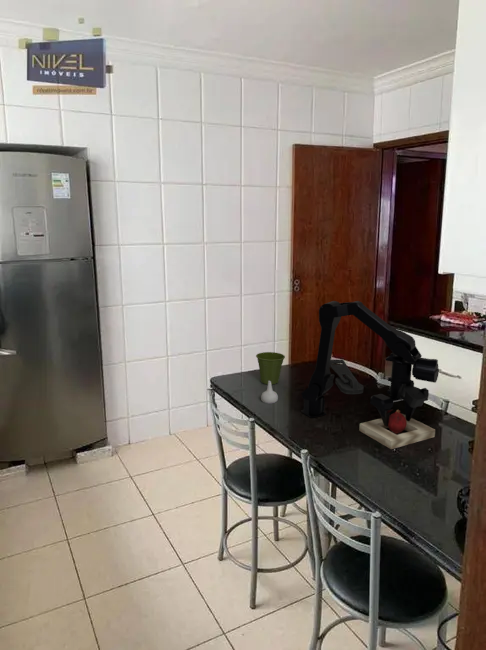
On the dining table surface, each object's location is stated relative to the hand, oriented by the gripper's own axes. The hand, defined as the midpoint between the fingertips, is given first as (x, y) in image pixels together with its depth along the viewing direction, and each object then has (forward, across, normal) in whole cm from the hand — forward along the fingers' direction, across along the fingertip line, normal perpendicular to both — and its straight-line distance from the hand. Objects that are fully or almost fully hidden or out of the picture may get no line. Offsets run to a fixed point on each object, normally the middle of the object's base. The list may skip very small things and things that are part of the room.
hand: (397, 423), depth 151 cm
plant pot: (+4, -11, +60) cm, 61 cm away
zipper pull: (+4, +15, +45) cm, 48 cm away
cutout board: (+4, 0, 0) cm, 4 cm away
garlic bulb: (+4, -22, +42) cm, 47 cm away
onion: (+4, 0, 0) cm, 4 cm away
